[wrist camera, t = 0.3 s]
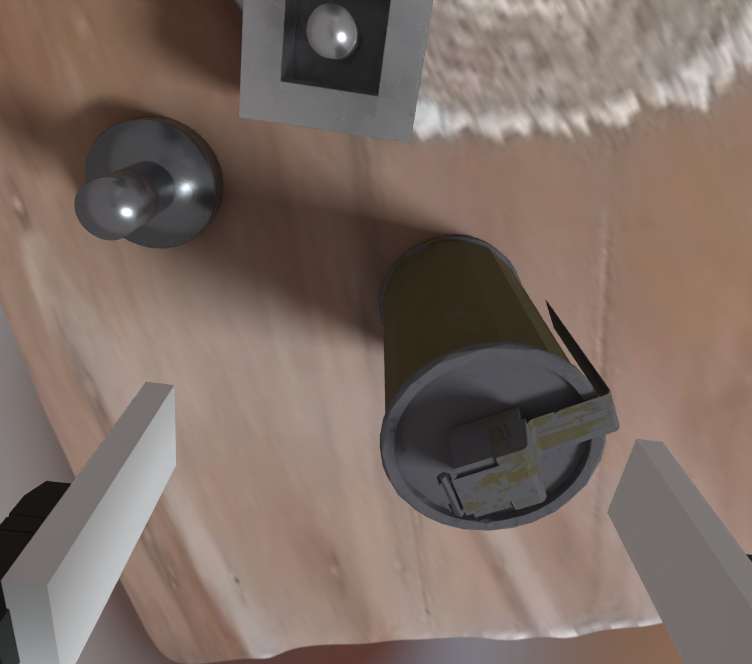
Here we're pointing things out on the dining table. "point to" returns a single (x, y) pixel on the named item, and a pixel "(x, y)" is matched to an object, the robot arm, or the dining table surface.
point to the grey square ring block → (322, 101)
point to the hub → (150, 183)
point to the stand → (341, 42)
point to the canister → (483, 392)
